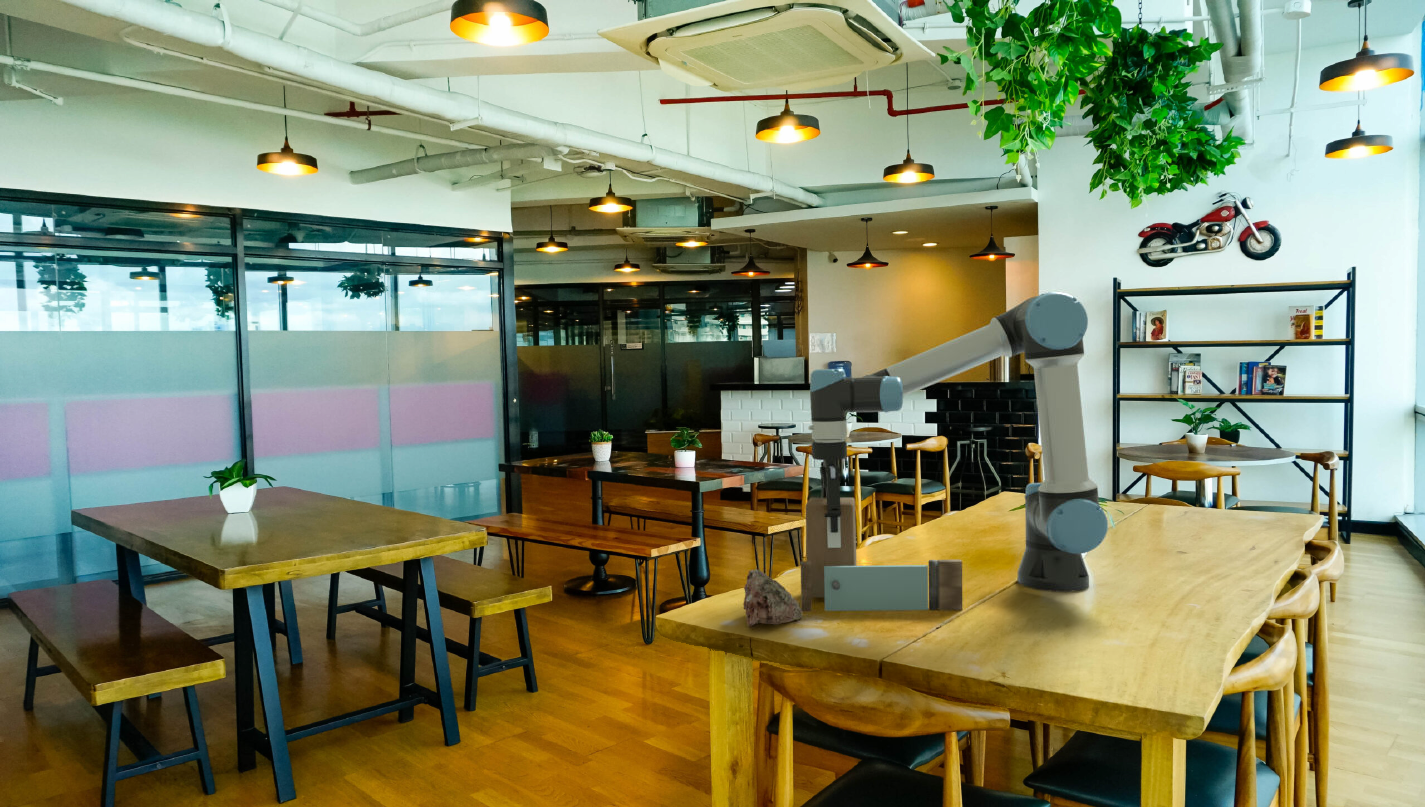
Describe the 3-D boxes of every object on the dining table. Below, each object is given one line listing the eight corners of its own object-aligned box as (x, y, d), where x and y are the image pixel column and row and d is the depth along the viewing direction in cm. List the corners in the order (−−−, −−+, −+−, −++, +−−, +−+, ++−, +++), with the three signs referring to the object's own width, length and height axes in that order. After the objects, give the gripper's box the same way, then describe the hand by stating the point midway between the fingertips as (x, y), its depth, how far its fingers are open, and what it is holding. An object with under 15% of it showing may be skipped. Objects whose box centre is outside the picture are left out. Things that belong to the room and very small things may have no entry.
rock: (772, 561, 188) (814, 562, 176) (781, 613, 188) (824, 618, 175) (709, 576, 181) (749, 579, 168) (718, 631, 180) (759, 637, 167)
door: (926, 608, 184) (926, 565, 184) (929, 611, 182) (929, 568, 181) (824, 609, 185) (824, 566, 185) (825, 612, 183) (825, 569, 182)
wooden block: (855, 598, 188) (852, 504, 188) (807, 597, 190) (805, 504, 190) (857, 587, 198) (854, 497, 197) (811, 586, 200) (809, 497, 199)
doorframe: (960, 607, 184) (960, 559, 184) (962, 610, 183) (962, 561, 182) (801, 609, 186) (800, 561, 185) (801, 611, 184) (801, 563, 183)
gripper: (807, 436, 205) (810, 532, 206) (815, 445, 182) (818, 553, 182) (840, 435, 204) (843, 531, 205) (853, 444, 181) (855, 552, 182)
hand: (831, 542), depth 194 cm, fingers closed on wooden block, 11 cm apart
